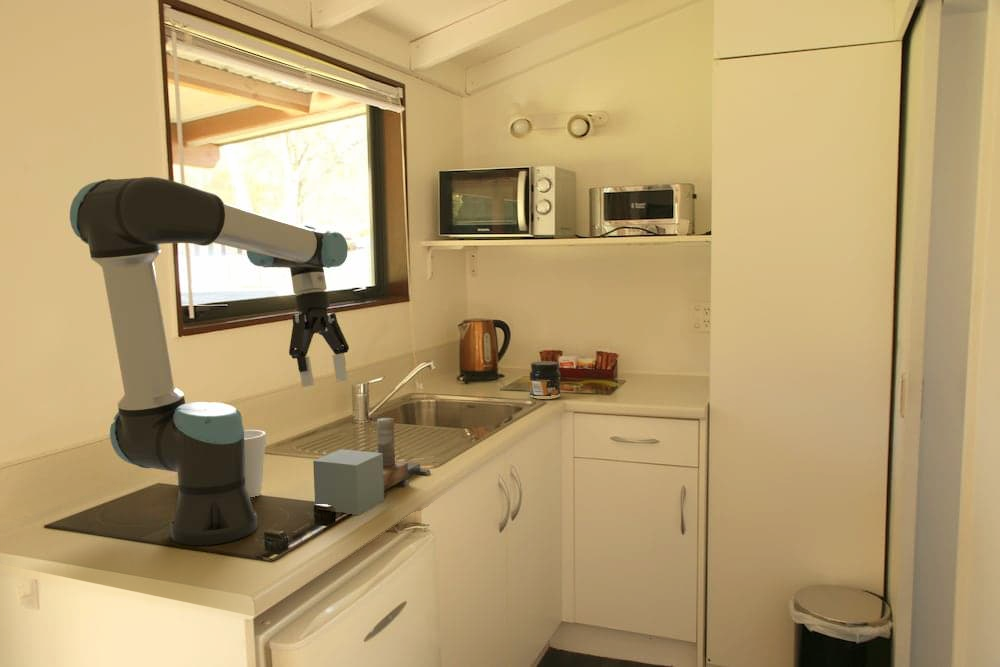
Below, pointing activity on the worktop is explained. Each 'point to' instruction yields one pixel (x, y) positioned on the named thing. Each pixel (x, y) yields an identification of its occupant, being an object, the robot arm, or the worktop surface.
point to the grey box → (349, 480)
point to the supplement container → (544, 378)
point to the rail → (410, 474)
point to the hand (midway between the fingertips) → (325, 383)
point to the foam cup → (254, 460)
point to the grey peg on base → (389, 453)
